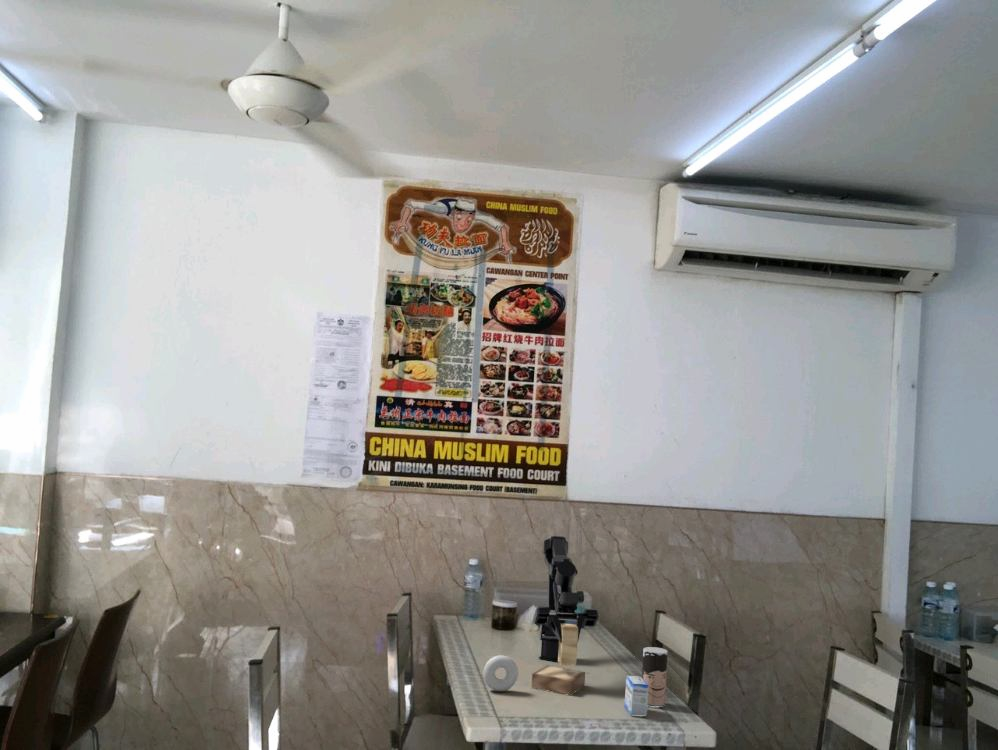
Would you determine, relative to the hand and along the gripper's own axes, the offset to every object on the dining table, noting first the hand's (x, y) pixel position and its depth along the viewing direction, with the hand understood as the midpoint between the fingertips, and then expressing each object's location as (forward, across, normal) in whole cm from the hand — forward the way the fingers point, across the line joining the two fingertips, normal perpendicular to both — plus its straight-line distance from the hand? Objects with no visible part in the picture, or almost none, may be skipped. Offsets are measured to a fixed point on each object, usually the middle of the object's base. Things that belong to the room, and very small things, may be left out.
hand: (569, 641), depth 253 cm
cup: (+19, +22, +1) cm, 29 cm away
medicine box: (+24, +15, -5) cm, 28 cm away
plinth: (+8, -2, +11) cm, 14 cm away
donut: (+13, -20, +7) cm, 25 cm away
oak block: (+4, 0, +6) cm, 7 cm away
